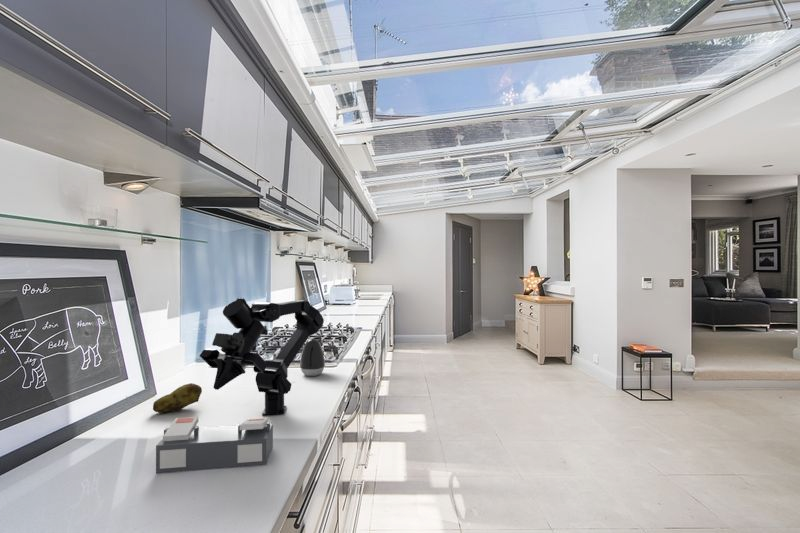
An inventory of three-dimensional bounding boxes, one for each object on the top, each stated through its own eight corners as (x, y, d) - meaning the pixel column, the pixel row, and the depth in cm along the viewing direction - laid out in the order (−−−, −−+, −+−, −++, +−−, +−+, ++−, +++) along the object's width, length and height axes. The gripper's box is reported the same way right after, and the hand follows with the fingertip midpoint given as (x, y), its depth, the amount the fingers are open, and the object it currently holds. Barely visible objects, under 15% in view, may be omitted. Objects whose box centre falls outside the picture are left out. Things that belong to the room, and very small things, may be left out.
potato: (161, 407, 127) (162, 382, 127) (204, 404, 129) (204, 380, 129) (149, 416, 118) (149, 390, 118) (195, 414, 121) (195, 387, 121)
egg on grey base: (330, 373, 167) (330, 337, 167) (312, 379, 158) (312, 341, 158) (312, 370, 172) (312, 335, 173) (294, 375, 164) (294, 339, 164)
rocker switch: (246, 424, 96) (246, 419, 96) (267, 423, 96) (268, 418, 97) (239, 430, 89) (239, 424, 89) (262, 428, 90) (262, 422, 90)
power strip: (173, 454, 94) (173, 421, 94) (272, 447, 98) (272, 415, 98) (155, 474, 85) (155, 437, 85) (266, 465, 89) (266, 430, 89)
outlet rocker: (176, 422, 93) (175, 417, 93) (198, 421, 94) (198, 416, 94) (163, 441, 87) (162, 435, 86) (187, 439, 87) (187, 434, 87)
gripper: (205, 319, 110) (169, 368, 99) (259, 322, 103) (226, 375, 93) (227, 342, 117) (195, 390, 107) (278, 347, 110) (250, 399, 100)
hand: (215, 388), depth 101 cm, fingers closed
